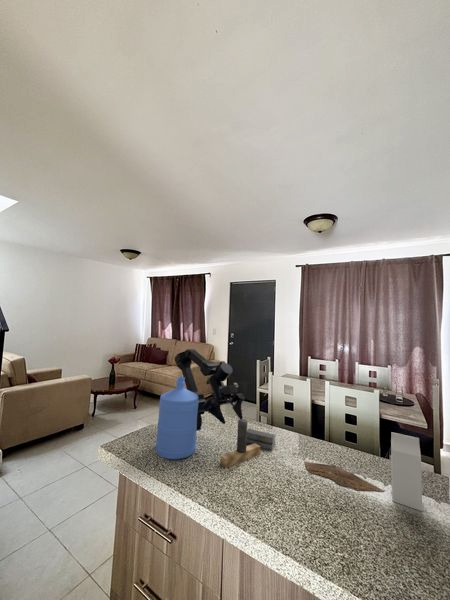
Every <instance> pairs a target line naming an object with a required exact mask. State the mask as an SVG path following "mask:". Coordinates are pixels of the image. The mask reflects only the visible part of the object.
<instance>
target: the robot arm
mask: <svg viewBox="0 0 450 600" xmlns="http://www.w3.org/2000/svg"><path fill="white" fill-rule="evenodd" d="M174 361H175V364H176V367H177V368H178V369H179V370H181V372H182V377H184V378H185V379H184V382H185V384H184V385H185V389H187V390H189V391H191V392H193V393H195V394H197V395H198V401H199V403H198V413H197V429H196V431H199V430H200V431H201V430H202V423H203V422H202V421H203V417H202V415H205V413H208V414H211V415H212V416H213V417H214V418H216V419H217V420H218V421H219V422H220V423H221V424H223V425H225V424H226V420H225V416H224V415H223V412H222V410H221V406H223V405H228V404H230V406H232V407H231V408H232V409H233V411H234V413H235V414H236V416H237V417H238V418H239V419H244V418H243V412H242V411H243V409H242V404H243V402H244V401H245V399H246V398H245V395H244V394H243V393H242V392H241V393H238V391H239V389H240V387H239V384H238V383H237V382H233V383H231V384H230V385H226V384H224V382H225V381H226V380H227V379H228V378H229V377H230V375H232V373H233V367H232V366H231V365H230V364H229V363H227V362H226V361H224V360H222V361H220V362H219V364H218V363H217V362H215V361H213V360H209V359H206V357H204V356H203V355H202V354H201V353H199V352H198V351H197V350H196V349H194V348H188V349H185V351H182V352H178V353H177V354H176V355H175V356H174ZM193 363H194V364H195V365H197V366H198V368H199V371H200V373H201V374H202V375H203V376H204V377H207V380H206V382H205V383H206V385H210V387H211V390H212V393H211V395H212V396H213V397H211V398H208V399H207V401H206V399H205V395H204V394H203V393H200V392H199V390H198V387H197V383H196V381H195V377H194V374H193V371H192V367H191V366H192V364H193ZM208 376H209V377H208ZM233 394H234V395H233ZM232 396H233V397H232Z"/></svg>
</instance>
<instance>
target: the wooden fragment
mask: <svg viewBox="0 0 450 600" xmlns="http://www.w3.org/2000/svg"><path fill="white" fill-rule="evenodd" d="M304 467H305V468H306V471H307V472H308V474H314V475H316V476H321V477H322V478H325V479H329V480H331V481H333V482H334V483H336V484H338V485H340V486H344V487H346V488H347V487H348V488H351V489H354V490H355V491H357V492H377V493H384V492H386V490H384V489H382V488H380V487H378V486H376V485H374V484H372V483H371V482H369V481H367V480H365V479H362V478H361V477H360V476H358V475H356V474H354V473H352V472H350V471H348V470H346V469H344V468H342V467H339V466H337V465H333V464H324V463H316V462H310V461H304Z"/></svg>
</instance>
